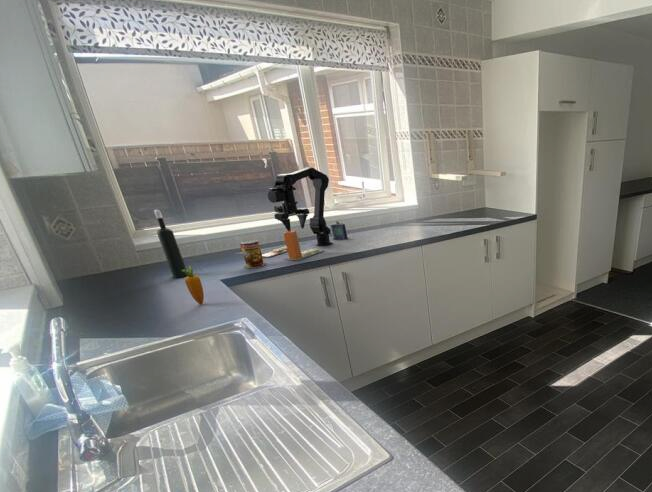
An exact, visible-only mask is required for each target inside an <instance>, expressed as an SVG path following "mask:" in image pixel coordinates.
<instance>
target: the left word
mask: <svg viewBox="0 0 652 492" xmlns="http://www.w3.org/2000/svg"><path fill="white" fill-rule="evenodd" d="M284 253H288V250H287V246H286V245H285V246H282V247H280V248H274V249H272V250H271V251H269V252H266V253H261V254H262V257H263V258H271V257H275V256H278V255H281V254H284Z"/></svg>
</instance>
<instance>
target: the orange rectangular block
mask: <svg viewBox="0 0 652 492" xmlns="http://www.w3.org/2000/svg"><path fill="white" fill-rule="evenodd" d="M282 234H283V237H284V238H283V239H284V242H285V246H287V250H288V252H287V253H288V258H298V257H300V256H302V254H301V252H302V251H301V246H300V242H299V237H298V234H297V230H291V231H288V230H286V231H285V232H283V233H282Z"/></svg>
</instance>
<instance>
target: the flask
mask: <svg viewBox="0 0 652 492" xmlns="http://www.w3.org/2000/svg"><path fill="white" fill-rule="evenodd" d="M329 225H330V226H329V227H330V229H331V235H332V239H333V240H348V234H347V229H346V224H345V223H343V222H339V220H336V221H335V223H330V224H329Z"/></svg>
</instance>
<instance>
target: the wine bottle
mask: <svg viewBox="0 0 652 492" xmlns="http://www.w3.org/2000/svg"><path fill="white" fill-rule="evenodd" d="M153 213H154V215H155V218H156V220H157V222H158V225H159V228H158V229H156V234H157V237H158V241H159V243H160V246H161V248H162V251H163V253H164V256H165V258H166V261H167V264H168V266H169V269H170V272H171V275H172V277H173V279H174V278H175V279H181V278H186V277H188V275H187V274H186V273H185V272H183V271H182V270H184V269H185V270H186V271H188V269H187V268H186V265H185V261H184V258H183V256H182V253H181V250H180V247H179V244H178V242H177V239H176V237H175V234H174V232H173V231H174V230H173V229H172V228H170V227H166V224H165V221H164V219H163V217H164V216H163V215H162V212H161V210H160V209H153Z"/></svg>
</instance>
